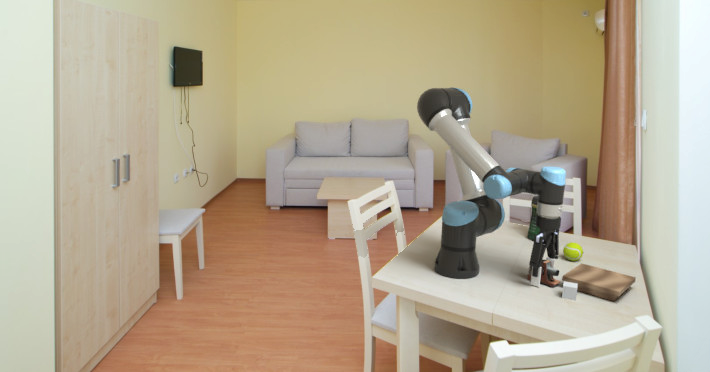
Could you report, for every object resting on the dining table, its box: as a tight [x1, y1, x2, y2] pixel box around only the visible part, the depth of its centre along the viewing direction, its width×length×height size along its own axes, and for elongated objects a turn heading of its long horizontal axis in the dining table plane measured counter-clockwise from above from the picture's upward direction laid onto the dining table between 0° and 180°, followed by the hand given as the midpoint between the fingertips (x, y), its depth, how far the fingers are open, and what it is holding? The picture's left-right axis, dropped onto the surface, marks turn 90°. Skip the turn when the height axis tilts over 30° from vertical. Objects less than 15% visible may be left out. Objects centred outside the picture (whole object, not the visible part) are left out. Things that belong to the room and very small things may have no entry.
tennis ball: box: [562, 242, 584, 262], centre depth 191 cm, size 7×7×7 cm
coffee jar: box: [527, 195, 540, 242], centre depth 213 cm, size 10×8×19 cm
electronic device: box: [527, 258, 561, 289], centre depth 170 cm, size 4×10×8 cm, turn 44°
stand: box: [561, 263, 637, 302], centre depth 167 cm, size 17×16×4 cm
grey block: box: [561, 281, 578, 301], centre depth 160 cm, size 4×4×4 cm
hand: (541, 281), depth 171 cm, fingers open, 10 cm apart
